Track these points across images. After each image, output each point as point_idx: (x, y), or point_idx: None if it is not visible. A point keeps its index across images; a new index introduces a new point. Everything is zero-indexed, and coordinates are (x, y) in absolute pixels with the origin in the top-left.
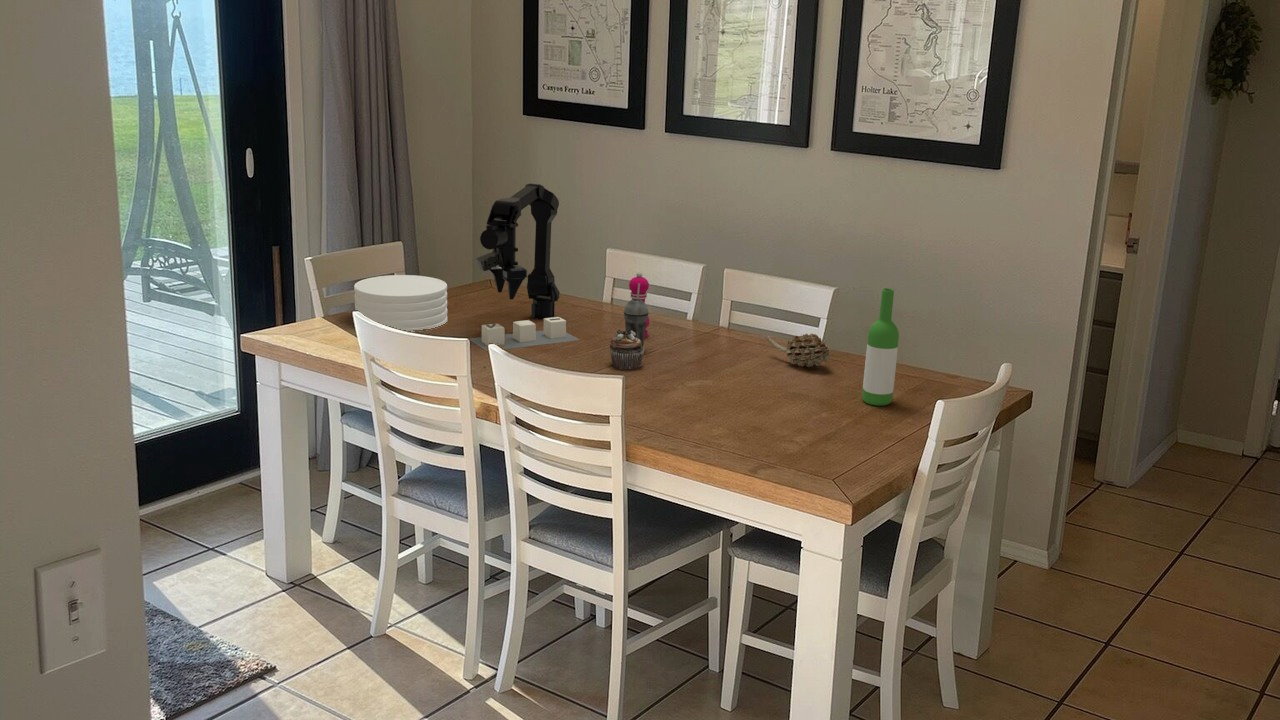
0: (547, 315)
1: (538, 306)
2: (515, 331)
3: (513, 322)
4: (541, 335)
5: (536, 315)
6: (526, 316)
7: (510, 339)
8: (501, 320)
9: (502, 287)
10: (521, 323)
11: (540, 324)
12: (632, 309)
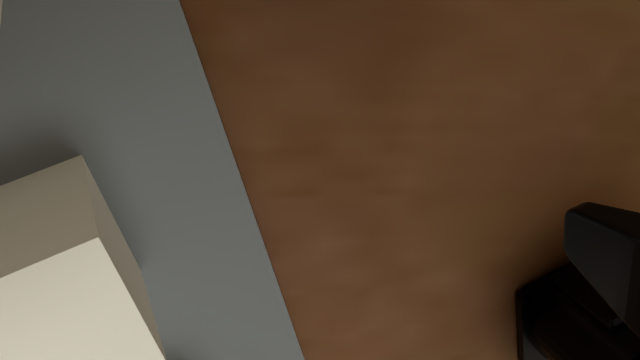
0: (539, 344)
1: (600, 337)
2: (29, 214)
3: (89, 237)
4: None
5: (560, 291)
6: None
7: (25, 132)
8: (604, 76)
9: (622, 312)
10: (20, 324)
11: (456, 302)
12: None
